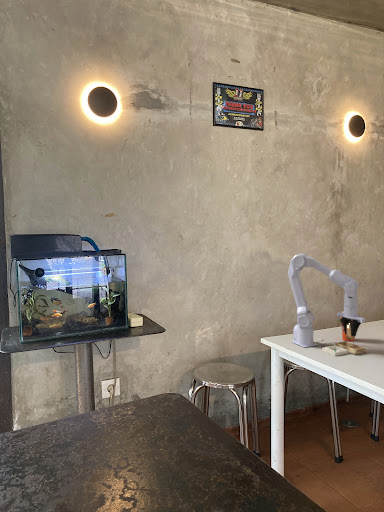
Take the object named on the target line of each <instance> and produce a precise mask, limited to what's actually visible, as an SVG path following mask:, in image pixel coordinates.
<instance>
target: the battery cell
mask: <svg viewBox="0 0 384 512" xmlns="http://www.w3.org/2000/svg"><path fill="white" fill-rule="evenodd" d="M346 339H347V340H354V336H351V327H350V323H348V324H347V338H346ZM354 341H355V340H354Z"/></svg>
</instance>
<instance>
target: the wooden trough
mask: <svg viewBox="0 0 384 512" xmlns="http://www.w3.org/2000/svg"><path fill="white" fill-rule="evenodd" d="M334 345H336V346H338V347H341V348H344V349H347V350H348V354H352V355H354V356H357V355H362V354H366V353H367V348H366V347H363V346H360V345H358V344H355V343H352V342H348V341H344V340H342V341H339V342H334Z"/></svg>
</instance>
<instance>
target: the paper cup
mask: <svg viewBox="0 0 384 512" xmlns="http://www.w3.org/2000/svg"><path fill="white" fill-rule="evenodd" d="M342 312H343V313H344V310H343V311H342ZM340 319H342V317H340ZM351 321H353V320H351ZM341 334H342V336H341V337H342V341H346V342H349V343H352V342H354V341H355V340H356V339H355V337H356V336H354V340H347V339H346V338H347V334H345V332H344V328H343V325H342V324H341Z"/></svg>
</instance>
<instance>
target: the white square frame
mask: <svg viewBox="0 0 384 512" xmlns="http://www.w3.org/2000/svg"><path fill="white" fill-rule="evenodd" d="M321 352H323V353H326V354H329V355H331V356H333V357H337V356H343V355H347V354H349V353H348V350H347V349H344V348H341V347H338V346H336V345H335V344H334V345H329V346H325V347H321Z"/></svg>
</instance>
